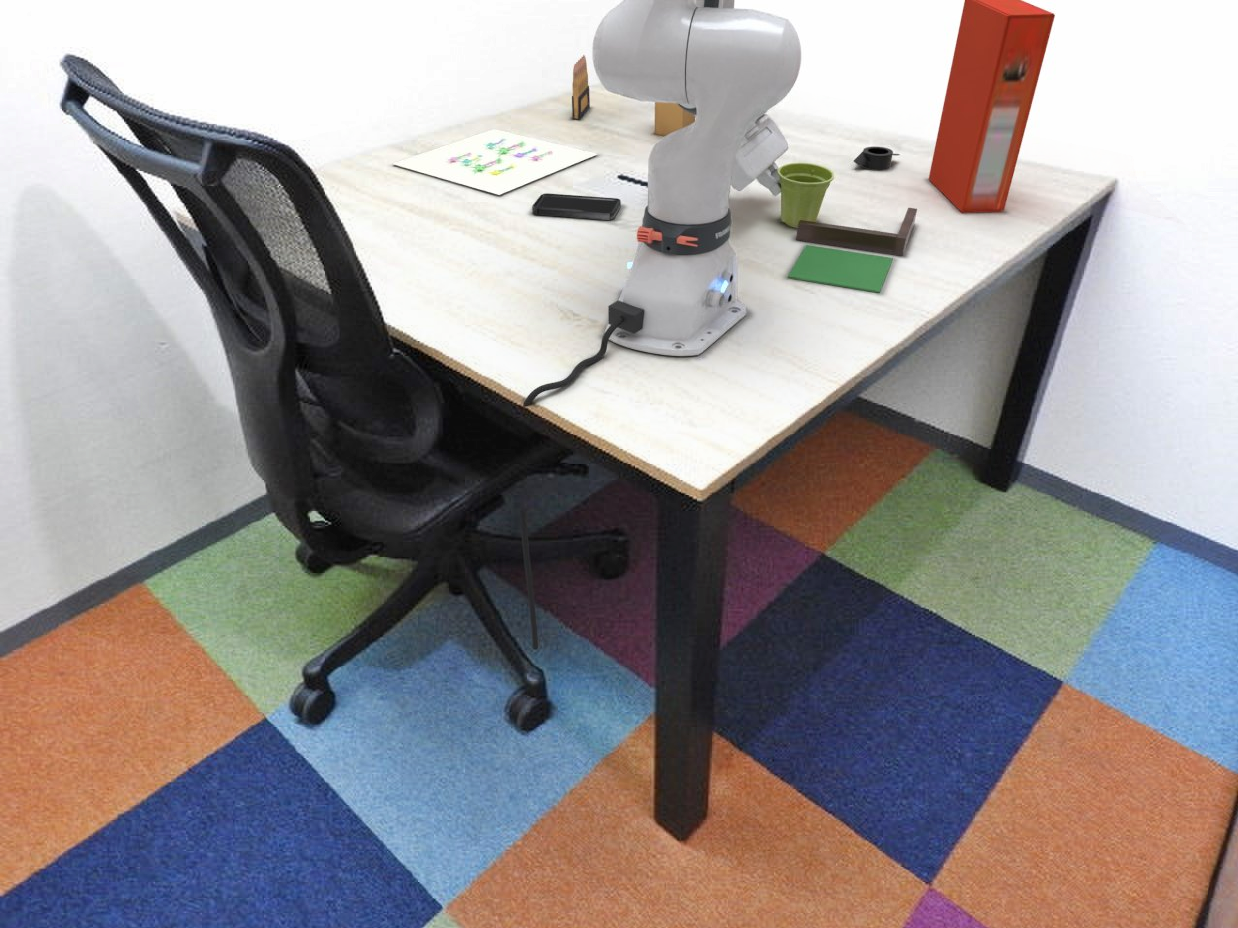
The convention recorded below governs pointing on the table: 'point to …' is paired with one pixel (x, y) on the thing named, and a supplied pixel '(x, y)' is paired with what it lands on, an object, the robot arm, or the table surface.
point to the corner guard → (858, 235)
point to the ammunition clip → (580, 90)
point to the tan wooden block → (675, 108)
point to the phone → (576, 206)
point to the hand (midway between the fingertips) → (781, 191)
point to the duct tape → (875, 158)
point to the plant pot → (802, 191)
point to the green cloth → (841, 268)
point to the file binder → (988, 101)
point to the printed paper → (495, 160)
